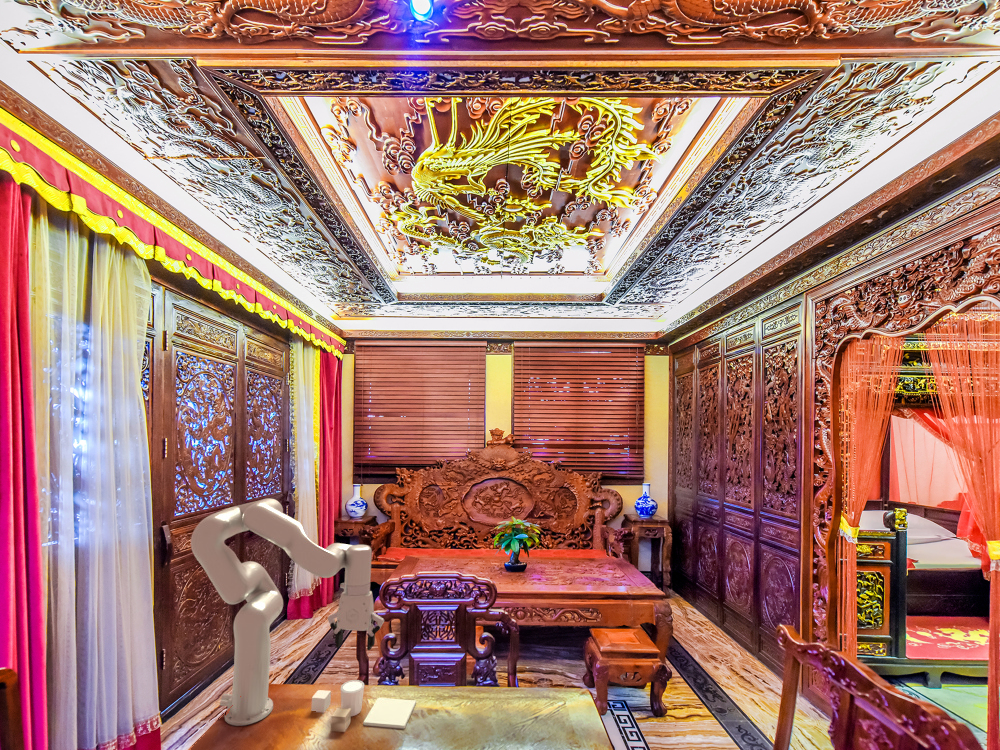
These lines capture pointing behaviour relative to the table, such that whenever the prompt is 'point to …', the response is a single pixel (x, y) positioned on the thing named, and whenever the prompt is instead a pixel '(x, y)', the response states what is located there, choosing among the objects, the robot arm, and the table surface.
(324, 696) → the off-white plastic block
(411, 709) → the cream pad
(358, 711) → the white rounded piece
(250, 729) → the table surface
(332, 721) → the birch block
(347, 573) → the robot arm
